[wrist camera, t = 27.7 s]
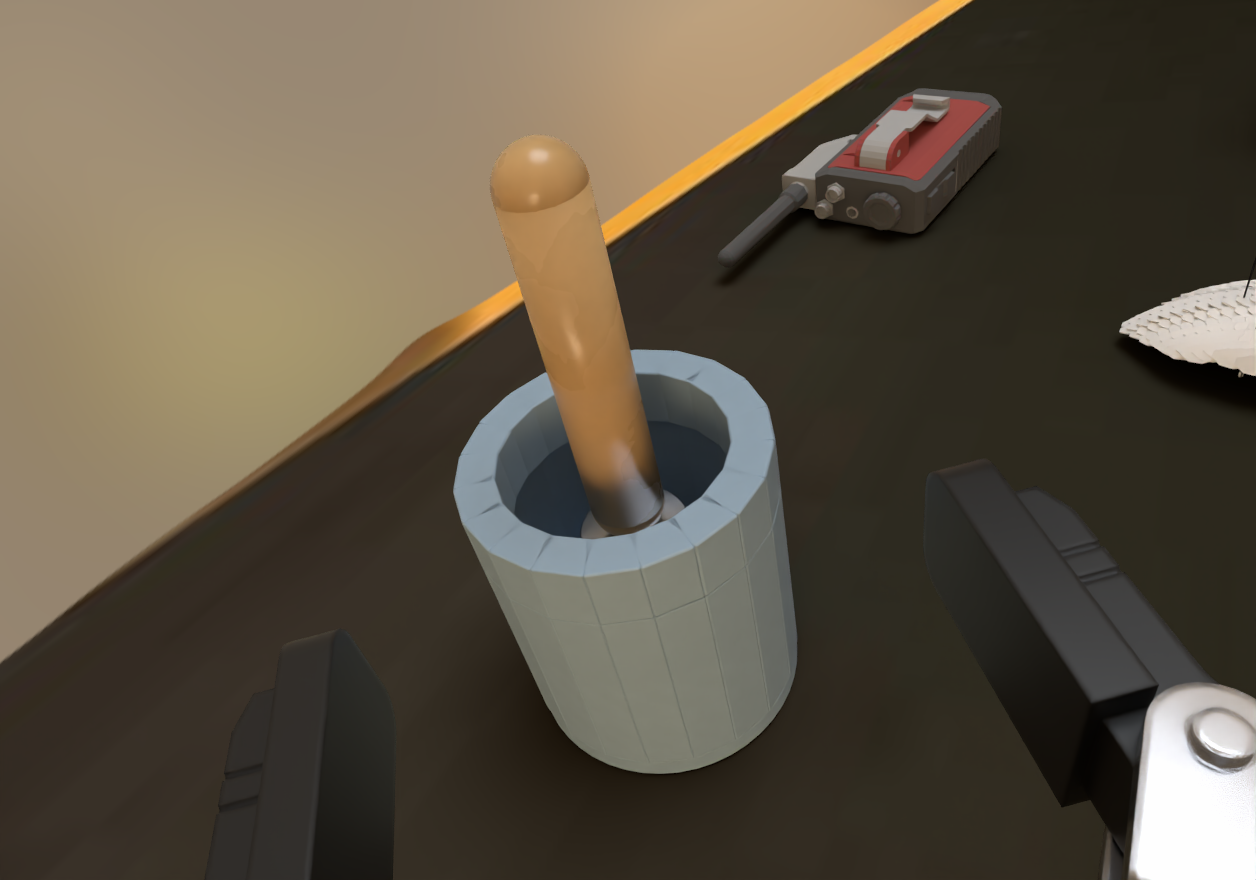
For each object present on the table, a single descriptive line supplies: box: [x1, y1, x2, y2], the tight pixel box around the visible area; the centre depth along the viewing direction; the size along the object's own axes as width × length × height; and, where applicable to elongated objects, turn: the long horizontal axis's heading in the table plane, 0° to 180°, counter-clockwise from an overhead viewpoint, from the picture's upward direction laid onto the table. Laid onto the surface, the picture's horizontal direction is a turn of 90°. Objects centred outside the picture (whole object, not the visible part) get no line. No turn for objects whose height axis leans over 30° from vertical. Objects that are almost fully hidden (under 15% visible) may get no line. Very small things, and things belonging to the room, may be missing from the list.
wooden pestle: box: [490, 135, 686, 539], centre depth 25 cm, size 5×5×18 cm
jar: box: [453, 350, 797, 774], centre depth 28 cm, size 9×9×10 cm
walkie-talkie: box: [718, 89, 1002, 267], centre depth 50 cm, size 9×4×20 cm
